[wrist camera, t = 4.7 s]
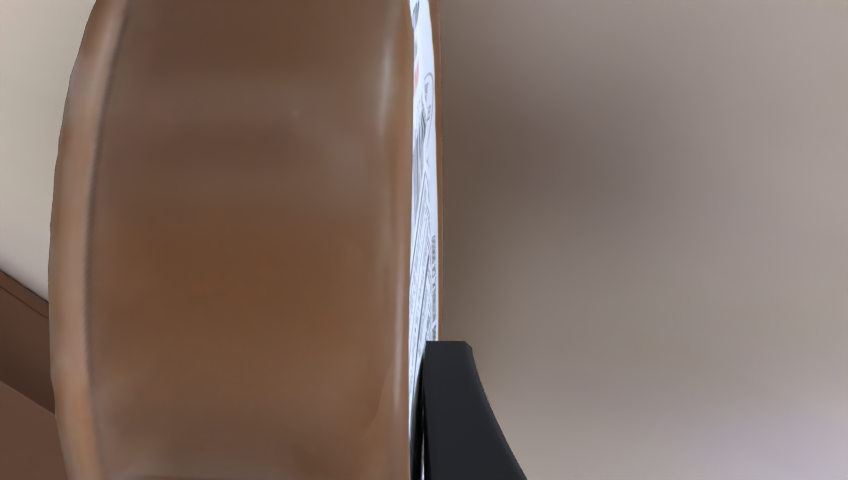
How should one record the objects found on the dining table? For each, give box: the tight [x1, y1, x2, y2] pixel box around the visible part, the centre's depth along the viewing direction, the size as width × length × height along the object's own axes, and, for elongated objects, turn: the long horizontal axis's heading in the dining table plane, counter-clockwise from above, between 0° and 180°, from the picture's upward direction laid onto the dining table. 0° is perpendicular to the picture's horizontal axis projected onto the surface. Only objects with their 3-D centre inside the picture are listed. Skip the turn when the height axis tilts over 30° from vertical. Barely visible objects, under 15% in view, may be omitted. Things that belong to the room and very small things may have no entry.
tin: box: [48, 0, 443, 480], centre depth 11 cm, size 15×3×8 cm, turn 0°
